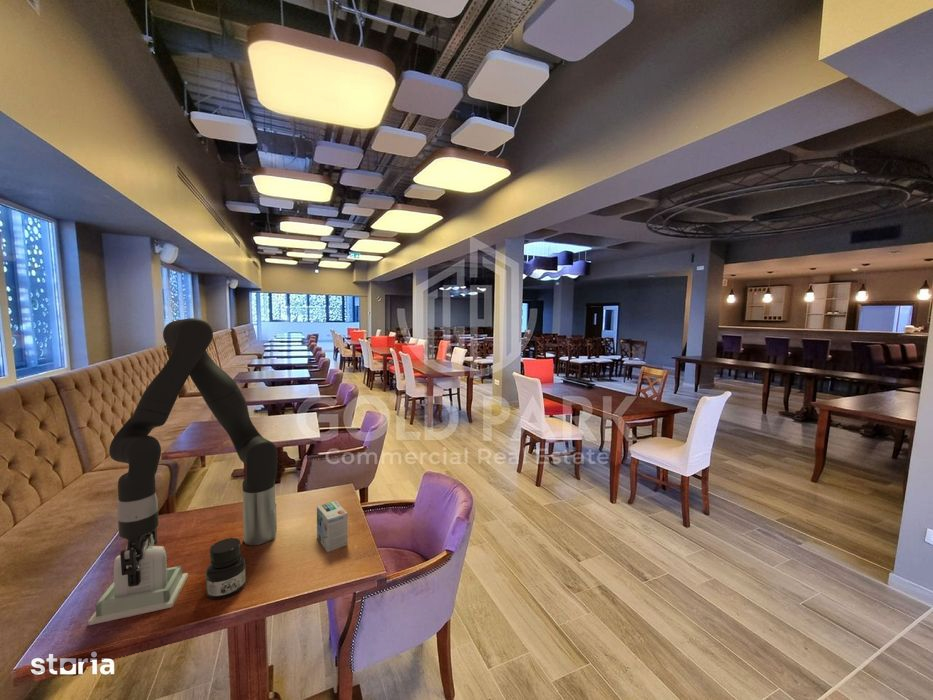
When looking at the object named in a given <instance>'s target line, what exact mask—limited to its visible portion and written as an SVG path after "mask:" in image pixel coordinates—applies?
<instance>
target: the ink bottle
mask: <svg viewBox="0 0 933 700" xmlns="http://www.w3.org/2000/svg"><path fill="white" fill-rule="evenodd" d="M241 547H242V546H241V540H240V538H237V537H236V538H235V537H230V538H224V539H221V540H219V541H217V542H214V543H213V544H212V545H211V546H210V548H209V559H210V562H209V563H210V564H209V565H208V566H207V567H206V570H205V582H206V583H205V588H206V589H205V590H206V596H207V597H208V598H209V599H212V600H220V599H226V598H229V597H230V596H234V595H235V594H237V593H239V592H240V591H241V590H242V589H243V588H244V587H245V585H246V583H247V582H246V581H247V577H246V576H247V575H246V569H247V568H246V559H245V557H244V556H243V555H241V552H242V551H241V550H242V549H241Z"/></svg>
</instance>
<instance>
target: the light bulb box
mask: <svg viewBox="0 0 933 700" xmlns="http://www.w3.org/2000/svg"><path fill="white" fill-rule="evenodd" d="M316 538H317V539H318V541H319V542H320V544H321V545H322V546H323V548H324V550H325V551H326V552H327V553H329V552H332V551H334V550H337V549H340V548H342V547H345V546H348V512H347V511H346V510H345V509H344V507H343V506H341V504H340V503H339V502H338V501H337V500H333V501H331V502H328V503H324V504H321V505H318V506H316Z"/></svg>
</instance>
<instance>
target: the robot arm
mask: <svg viewBox="0 0 933 700" xmlns="http://www.w3.org/2000/svg"><path fill="white" fill-rule="evenodd" d="M213 336H214V331H213V328H212V326H211V325H210V324H209V322H207V321H206V320H204V319H202V318H198V317H193V318H192V317H191V318H190V317H189V318H182V319H178V320H177V319H176V320H173V321H170V322H168V323H167V324H166V325H165V326H164V328H163V331H162V337H163V341H164V343H165V346H166V347H167V348H168V349H169V350H170V352H171V354H170V356H169V358H168V359H167V361H166V363H165V364H164V366H163V367H162V368H161V370H160V371H159V372H158V374H157V375H156V376H155V377H154V378H153V379H152V380H151V382H150V383H149V384H148V386H147V387H146V389H145V390H144V392H143V394H141V395H142V396H141V397H140V400H139V401H138V403H137V406H136V407H135V410H134V412H133V414H132V415H131V417H130V418H129V419H128V420H127V421H126V422H125V423H124V424H123V426H121V428H120V429H119V430H118V431H117V433H116V434H115V435H114V436H113V439H112V440H111V442H110V444H109V445H110V446H109V450H108V451H109V456H110V458H111V459H112V460H114V461H115V462H118V463H124V464H128V470H127V472H126V473H123V474H122V475H121V476H120V477H119V478H118V481H117V494H118V495H117V496H118V501H117V502H118V503H117V521H118V522H117V524H118V535H119V537H120V538H122V539H126V540H127V543H126V546H125V550H121V551H120V552H119V553H120V554H119V555H120V557H121V571H122V575H127V574H128V586H129V587H132V586H137V585H139V584H140V582H141V576H140V566H141V561H142V560H143V559H144V557H145V551H146V547H150V546H157V544H158V530H157V529H158V526H159V525H160V524H159V522H160V521H159V505H158V503H159V501H158V496H157V491H156V488H157V487H156V475H157V474H156V473H157V471H158V467H159V464H160V461H161V460H160V459H161V456H162V455H161V453H162V447H161V443H160V441H159V440H158V439H157V438H156V437H154V436H152V435H150V433H151V432H152V431H153V429H155V428H158V427H162V426H163V425H165V424H166V422H167V421H168V419H169V416H170V414H171V412H172V410H173V408H174V406H175V403H176V402H177V399H178V397H179V395H180V392H181V391H182V388H183V387H184V385H185V383H186V381H187V380H188V377H190V379H191V380H192V382H193V383H194V386H195V387H196V389H197V390H198V392H199V393H200V395H201V397H202V399H203V400H204V402H205V403H206V405H207V407H208V408H209V410H210V412H211V413H212V414H213V415H214V418H215V419H216V420H217V421H218V423H219V424H220V425H221V426H222V428H223V429H224V430H225V432H226V433H227V435H228V436H229V438H230V441H231V442H232V444H233V447H234V449H235V451H236V453H237V454H236V455H237V456H238V458H239V460H240V461H241V462H242V463H244V464H245V465H246V478H244V479H243V481H242V519H243V542H244V544H245V545H248V546H259V545H263V544H265V543H268V542H270V541H272V540H276V535H277V503H276V483H275V482H276V478H277V476H278V449H277V446H276V444H275V443H273V442H272V441H270V440H268V439H266V438H265V437H263V436H262V434H261V433H260V432H259V431H258V429H257V428H256V426H255V425H254V424H253V422H252V420H251V417H250V413H249V408H248V404H247V401H246V398H245V396H244V394H243V393H242V391H241V389H240V387H239V385H238V384H237V382H236V381H235V380H234V379H233V377H231V376H230V375H229V374H228V373H227V372H226V371H225V370H223V369H222V368H221V367H220V366H219V365H217V364H218V363H215V362H214V360H213V359H212V358H211V356H210V354H209V353H208V351H207V348H208V347H209V346H210V344H211V343H212V341H213ZM136 555H140V556H139V557H136ZM136 561H137V564H136ZM131 566H132V567H131Z"/></svg>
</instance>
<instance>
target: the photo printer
mask: <svg viewBox="0 0 933 700" xmlns="http://www.w3.org/2000/svg"><path fill="white" fill-rule="evenodd" d="M139 556H140V555H136V557H139ZM136 564H137V561H136ZM167 566H168V565H167V551H166V548H165V546H161V545H154V546H150V547H146V551H145V557H144V559H143V560H142V561H141V566H140V576H141V582H140V584H139V585H137V586H132V587H129V586H128V574H127V575H122V571H121V557H120V554H119V555H117V556H116V558H115V560H114V564H113V582H114V596H115V598H120V597H125V596H130V595H135V594H140V593H145V592H150V591H155V590H160V589H165V587H166V586H167V568H168V567H167ZM131 567H132V566H131Z"/></svg>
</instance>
